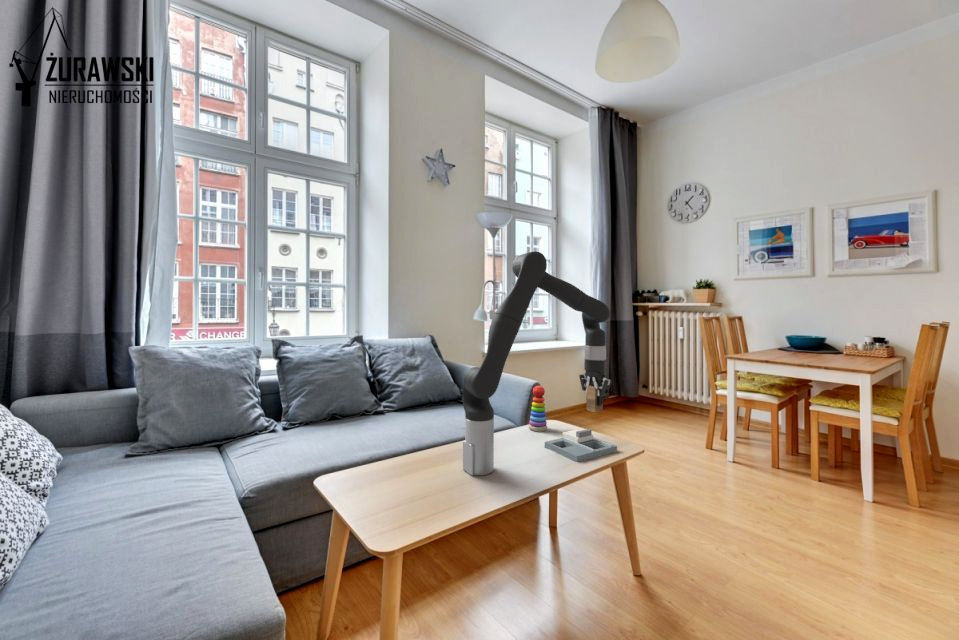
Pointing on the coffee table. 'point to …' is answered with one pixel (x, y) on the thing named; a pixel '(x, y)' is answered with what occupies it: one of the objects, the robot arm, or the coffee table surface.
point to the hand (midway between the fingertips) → (594, 404)
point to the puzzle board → (580, 448)
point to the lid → (579, 435)
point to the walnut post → (593, 399)
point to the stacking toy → (538, 411)
